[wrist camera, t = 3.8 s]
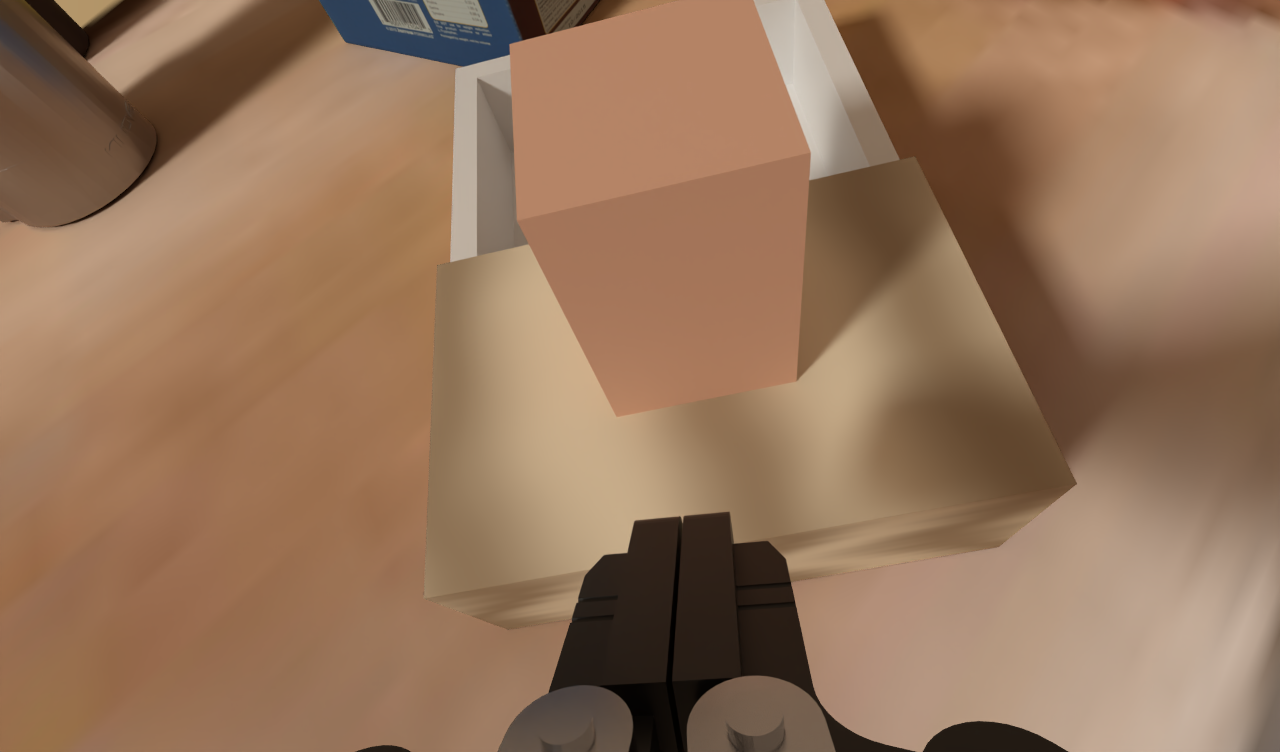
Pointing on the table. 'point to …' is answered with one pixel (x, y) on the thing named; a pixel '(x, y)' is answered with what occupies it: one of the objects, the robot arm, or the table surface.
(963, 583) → the table surface
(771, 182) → the block
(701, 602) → the robot arm
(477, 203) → the white inner box tray
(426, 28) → the protein box
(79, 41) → the bottle
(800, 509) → the beige box sleeve
